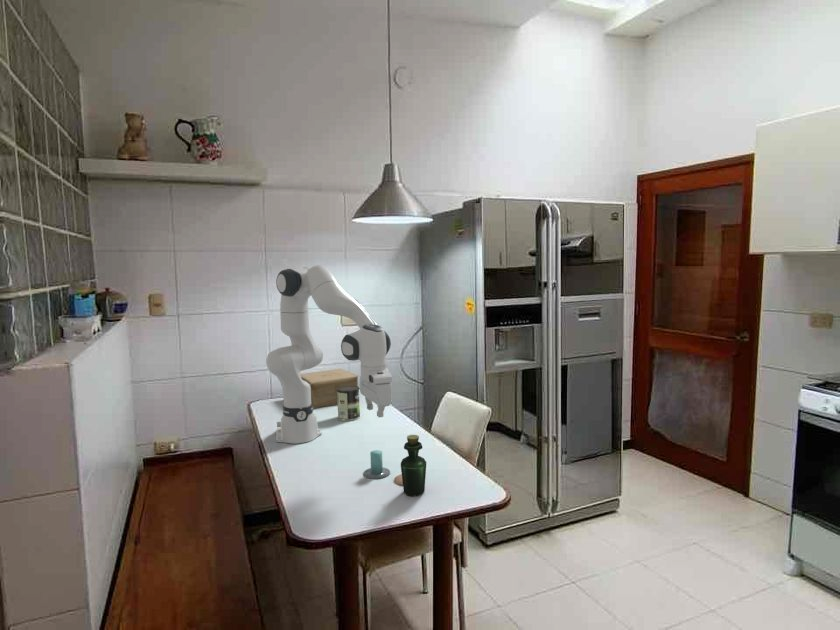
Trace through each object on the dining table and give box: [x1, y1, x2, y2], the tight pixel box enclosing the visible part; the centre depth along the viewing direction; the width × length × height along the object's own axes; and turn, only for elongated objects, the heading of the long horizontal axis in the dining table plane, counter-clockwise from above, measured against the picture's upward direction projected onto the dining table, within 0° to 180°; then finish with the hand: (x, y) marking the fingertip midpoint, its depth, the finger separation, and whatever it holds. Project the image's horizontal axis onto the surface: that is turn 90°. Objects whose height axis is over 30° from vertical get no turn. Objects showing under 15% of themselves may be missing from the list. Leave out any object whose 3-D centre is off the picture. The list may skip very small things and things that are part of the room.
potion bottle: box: [400, 434, 427, 497], centre depth 162 cm, size 8×8×18 cm
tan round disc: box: [393, 473, 403, 487], centre depth 172 cm, size 9×9×1 cm
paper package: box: [300, 368, 359, 409], centre depth 272 cm, size 27×26×14 cm
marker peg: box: [370, 449, 383, 475], centre depth 178 cm, size 4×4×7 cm
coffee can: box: [337, 385, 361, 422], centre depth 240 cm, size 10×10×14 cm
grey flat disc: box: [363, 467, 391, 480], centre depth 178 cm, size 9×9×1 cm
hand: (374, 413), depth 176 cm, fingers open, 8 cm apart
